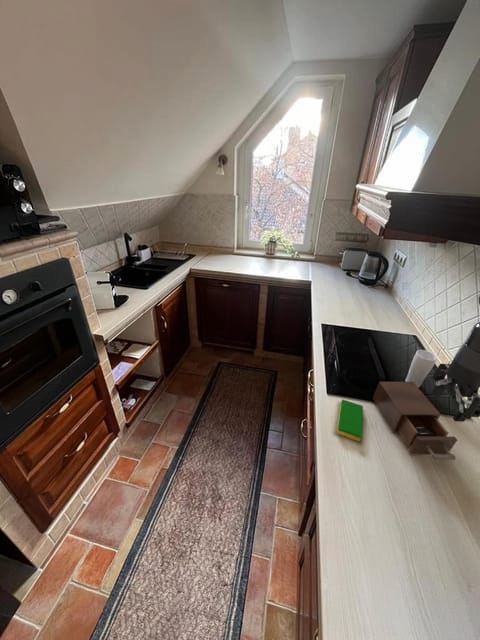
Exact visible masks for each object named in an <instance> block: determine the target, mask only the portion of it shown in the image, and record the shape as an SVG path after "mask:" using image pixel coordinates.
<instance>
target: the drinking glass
mask: <svg viewBox="0 0 480 640" xmlns="http://www.w3.org/2000/svg"><path fill="white" fill-rule="evenodd" d="M437 360H438V358H437V355H435V353H433V352H431V351H428V350H426V349H418V350H416V352H415V353H414V355H413V358H412V361H411V363H410V367H409V370H408V372H407V376H406V377H405V381H404V382H413V383H414V384H415V385H416V386H417V387H418V388H419V389H420V387H421V386H422V384H423V382H424V381H425V379H426V378H427V376H428V375H429V373H430V372H431V370H432V369H434V366H435V364H436V362H437Z"/></svg>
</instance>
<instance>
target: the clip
mask: <svg viewBox="0 0 480 640" xmlns="http://www.w3.org/2000/svg"><path fill="white" fill-rule="evenodd" d="M415 429H416V430H417V432H418V435H417V436H416V437H434V434H433V432H432V431H431V430H430V429H429V427H415ZM415 439H416V438H415Z"/></svg>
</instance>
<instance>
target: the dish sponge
mask: <svg viewBox="0 0 480 640" xmlns="http://www.w3.org/2000/svg"><path fill="white" fill-rule="evenodd" d="M338 413H339V414H338V422H337V429H336V434H337V435H339V436H343V437H347V438H348V439H351V440H354V441H356V442H361V439H362V437H363V417H364V415H363V414H364V406H363V405H361V404H359V403H355V402H353V401H352V402H351V401H349V400H345V399H341V402H340V405H339V412H338Z"/></svg>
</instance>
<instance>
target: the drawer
mask: <svg viewBox="0 0 480 640" xmlns="http://www.w3.org/2000/svg"><path fill="white" fill-rule="evenodd" d="M415 427H429V429H430V430H431V431H432V432H433V434H434V437H416V436H417V435H418V432H417V430H416V429H415ZM397 429H398V430H399V432H398V433H399V434H400V435H401V436H402V438H403V440H404V441H405V443H406V444H407V446H408V447H409V449H408V452H409V455H430V456H431V457H430V458H431V459H432V460H433V461H455V460H456V459H457V457H456V455H455V454H453V453H451V450H452V449H453V447H454V446H455V445H456V443H457V442H458V439H457V437H455V436H448V435H449V432H448V430H447V429H446V428H445V426H444V425H443V424H442V423H441V422H440V420H439V419H437V418H436V417H435V416H403V418H402V420H401V422H400V424H399V426H398V428H397ZM415 438H416V439H415Z"/></svg>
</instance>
